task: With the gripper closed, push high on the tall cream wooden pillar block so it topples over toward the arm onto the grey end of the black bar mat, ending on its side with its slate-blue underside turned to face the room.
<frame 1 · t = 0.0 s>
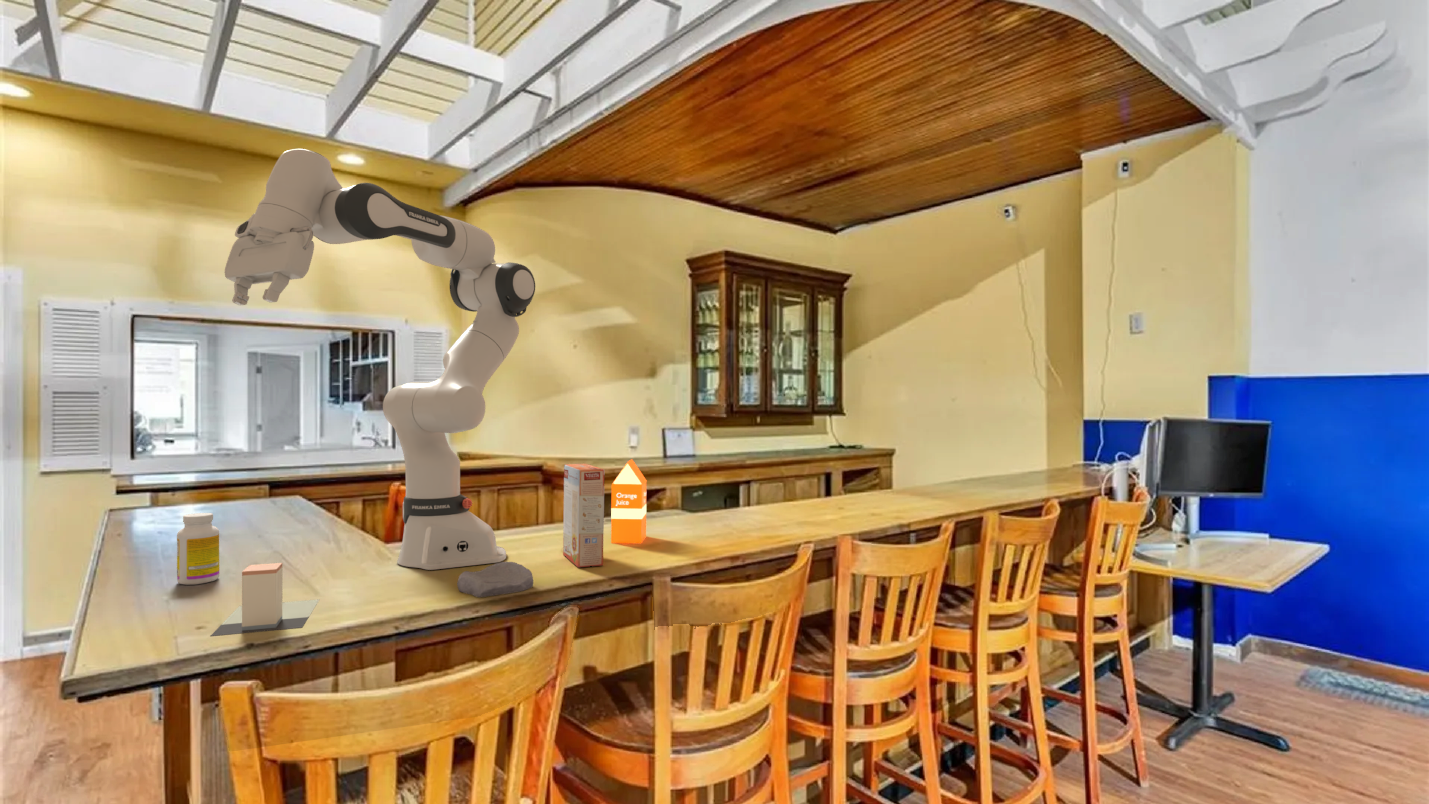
hand: (253, 302, 123), 52 cm above the bar counter, tool tilted 20°, fingers open, 8 cm apart
bar mat: (269, 618, 116), on the bar counter
supplement bottle: (198, 582, 138), on the bar counter
stone block: (498, 591, 135), on the bar counter
cracker box: (583, 561, 158), on the bar counter
pillar block: (262, 624, 112), resting on bar mat
orange juice: (629, 540, 181), on the bar counter
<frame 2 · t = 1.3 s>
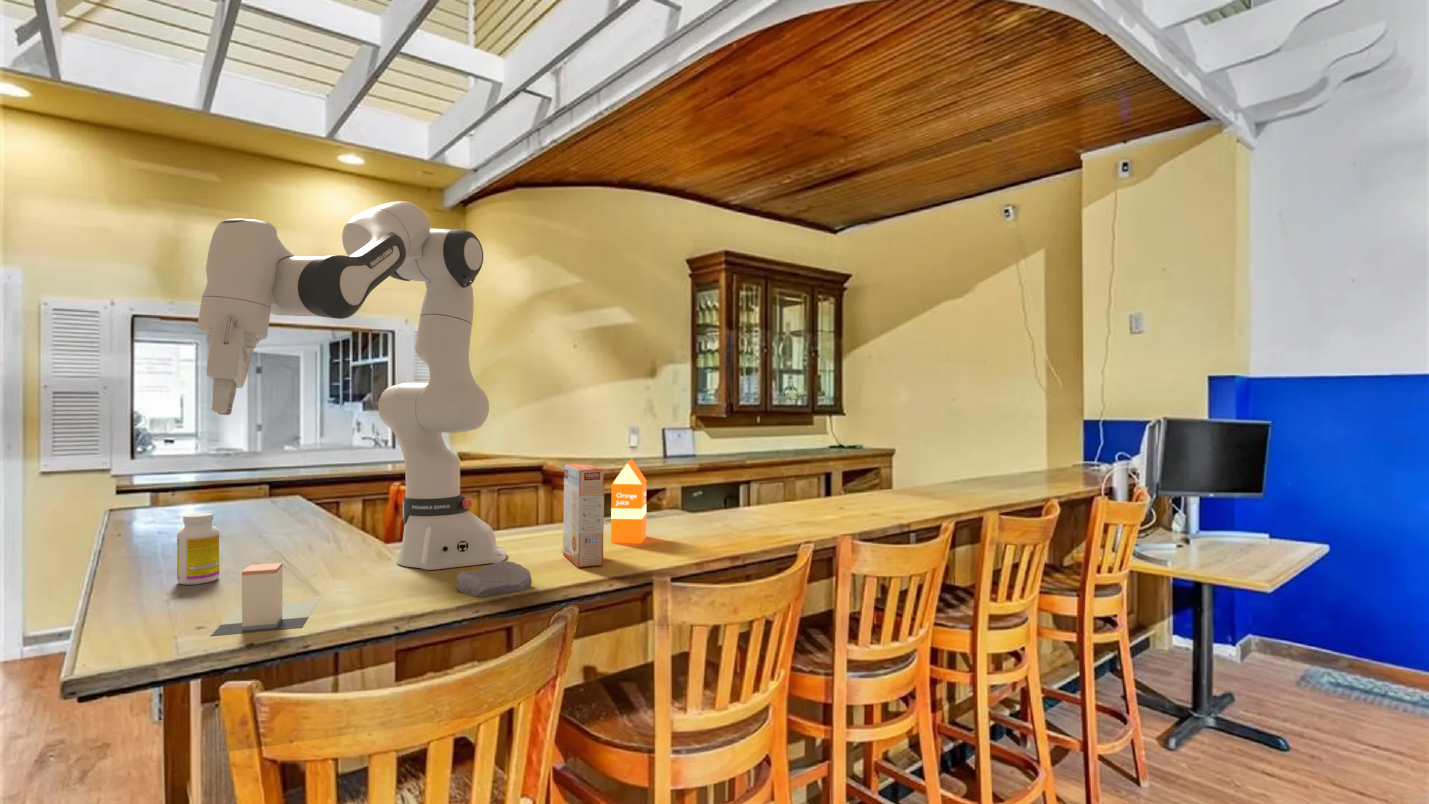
hand: (221, 413, 107), 33 cm above the bar counter, tool pointing down, fingers open, 8 cm apart
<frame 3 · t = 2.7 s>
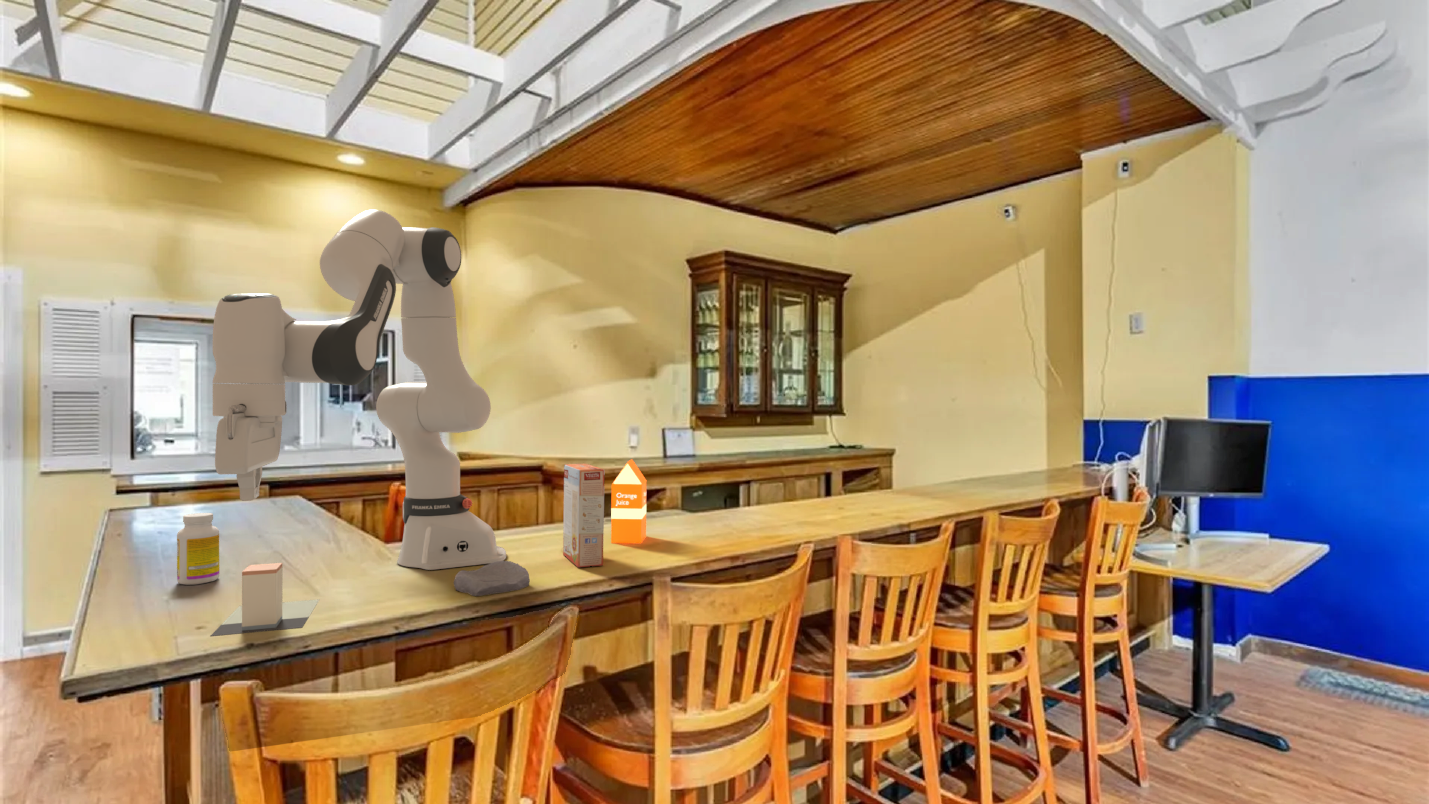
hand: (249, 499, 104), 21 cm above the bar counter, tool pointing down, fingers closed
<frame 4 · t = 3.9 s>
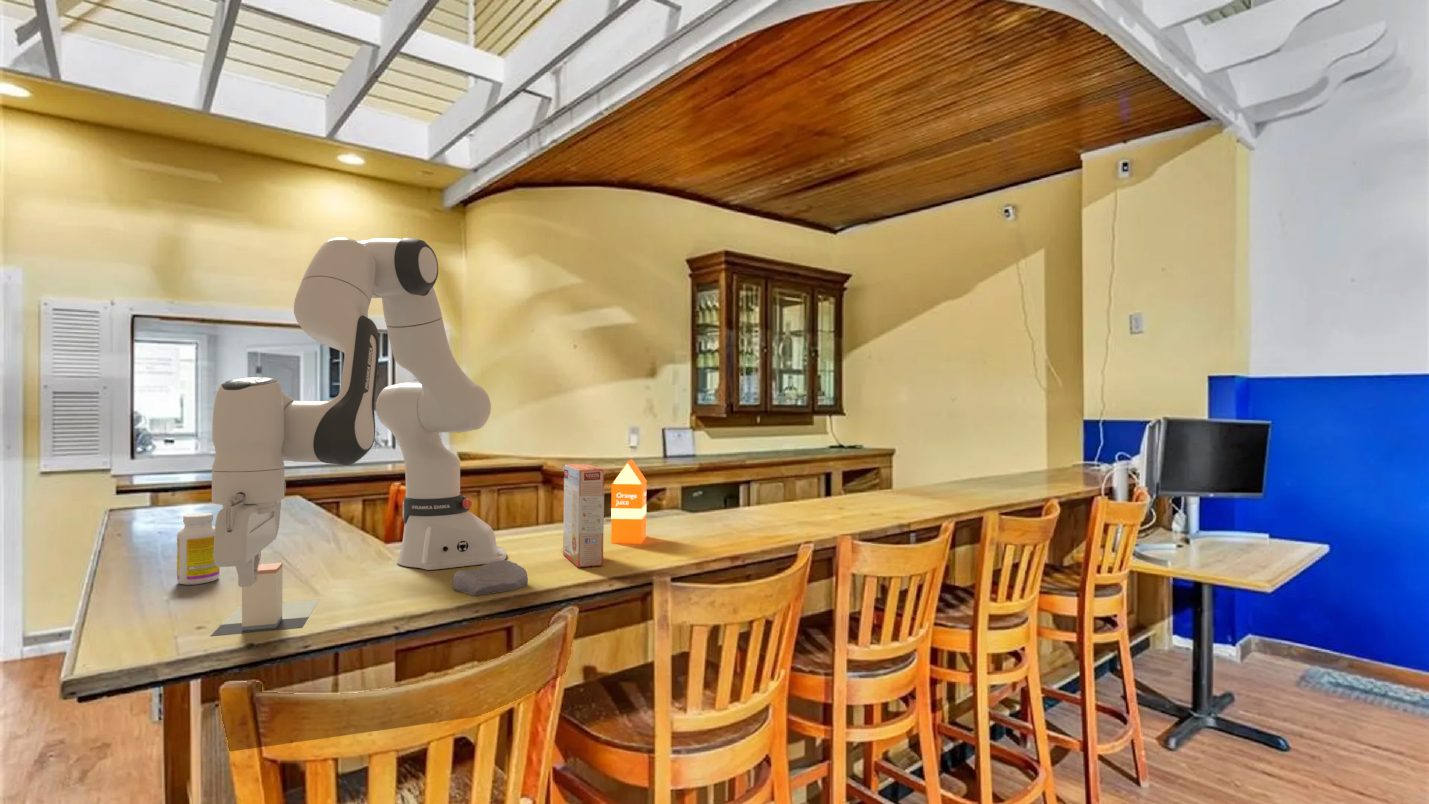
hand: (248, 584, 104), 9 cm above the bar counter, tool pointing down, fingers closed
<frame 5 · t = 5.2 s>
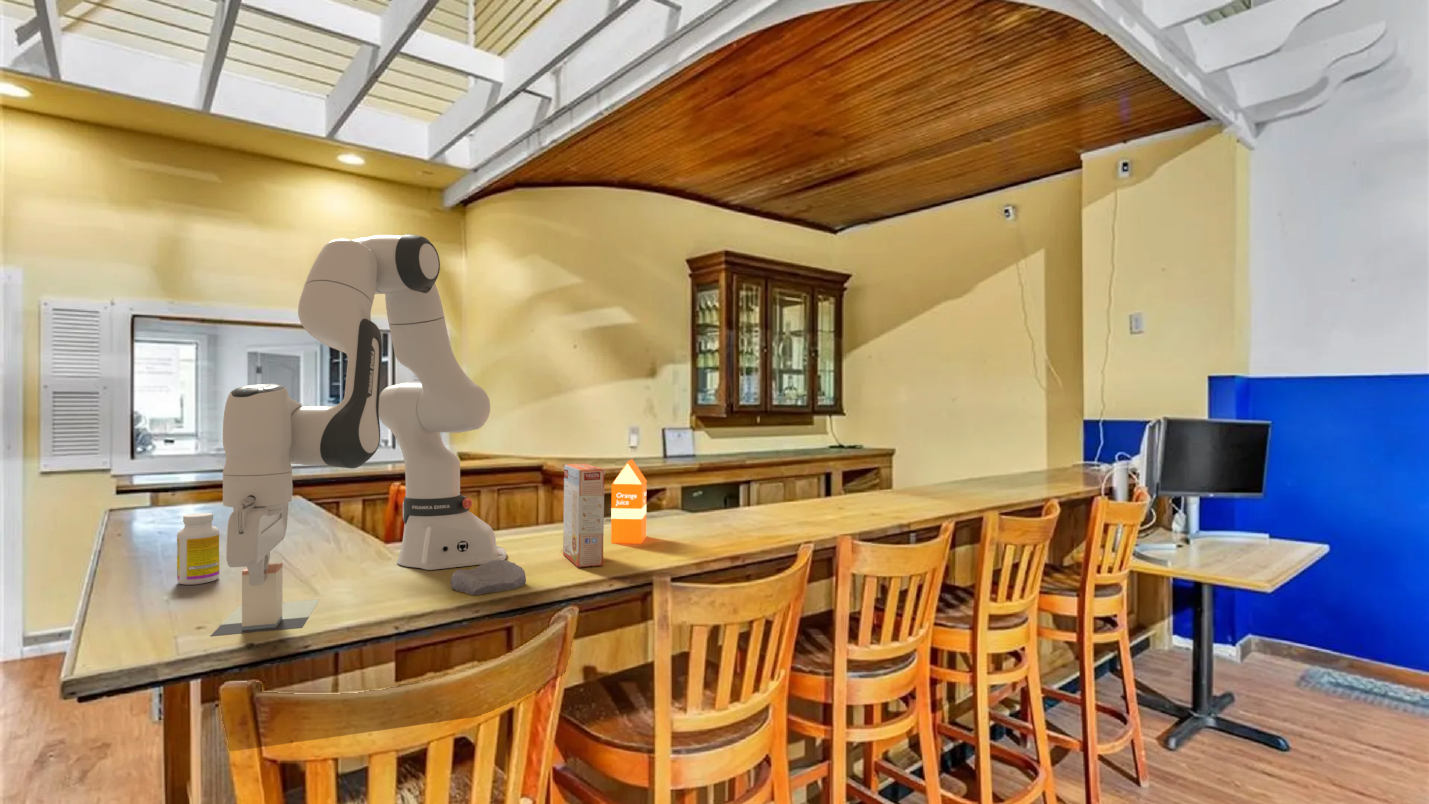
hand: (258, 583, 108), 8 cm above the bar counter, tool pointing down, fingers closed
pillar block: (262, 624, 112), resting on bar mat, touching gripper
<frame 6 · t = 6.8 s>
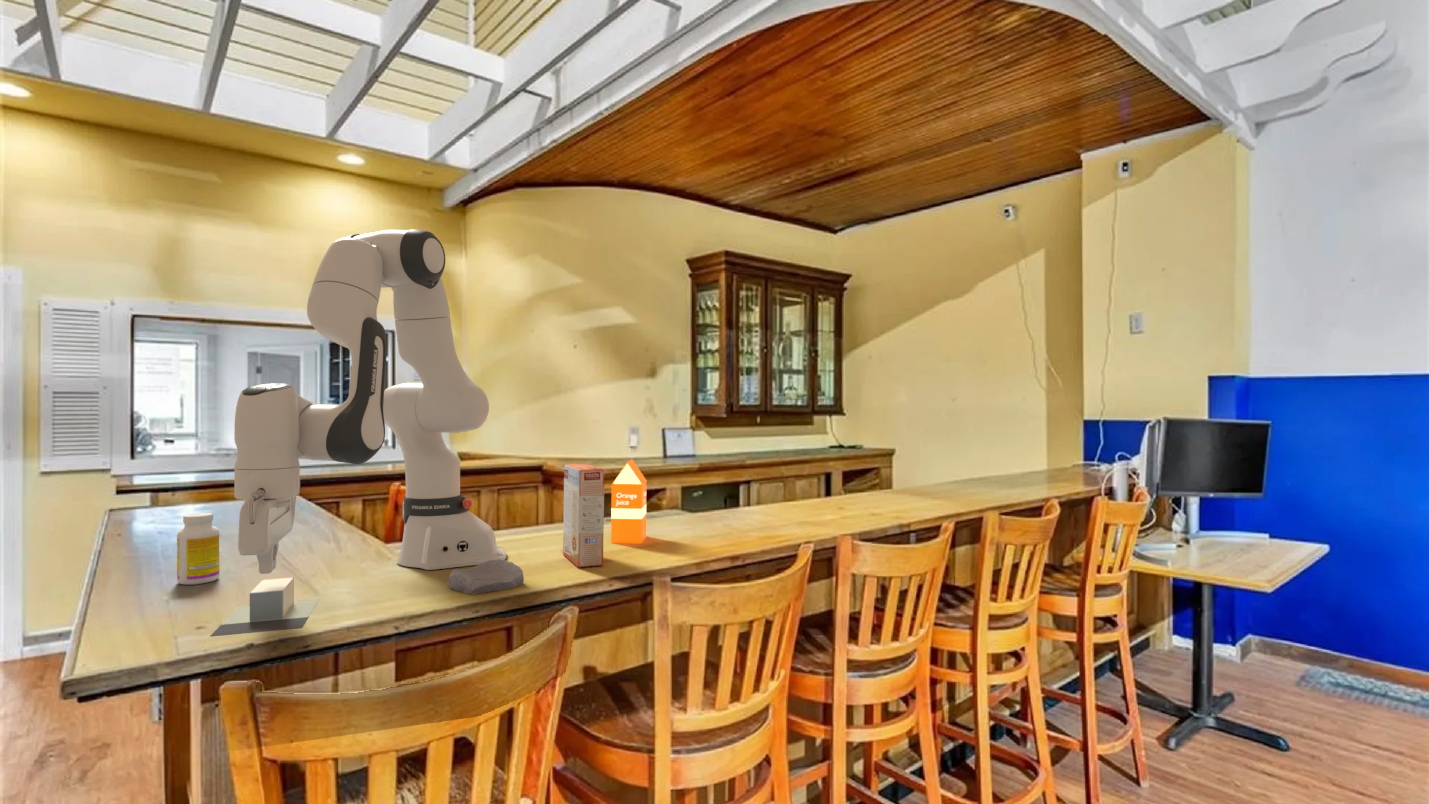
hand: (267, 571, 114), 8 cm above the bar counter, tool pointing down, fingers closed
pillar block: (266, 606, 114), point 3 cm above the bar counter, tilted 90°, touching bar mat
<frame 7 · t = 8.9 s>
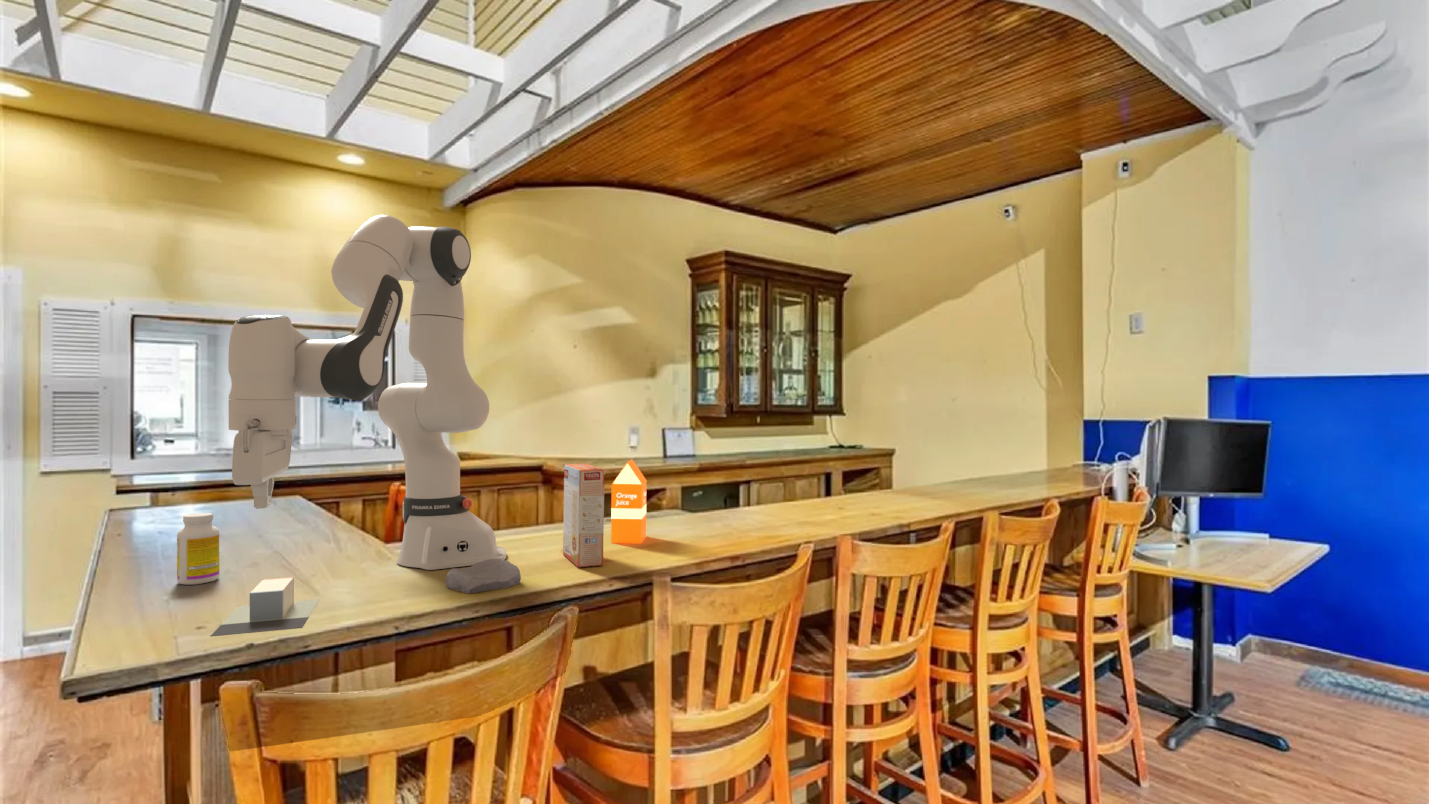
hand: (262, 507, 112), 19 cm above the bar counter, tool pointing down, fingers closed
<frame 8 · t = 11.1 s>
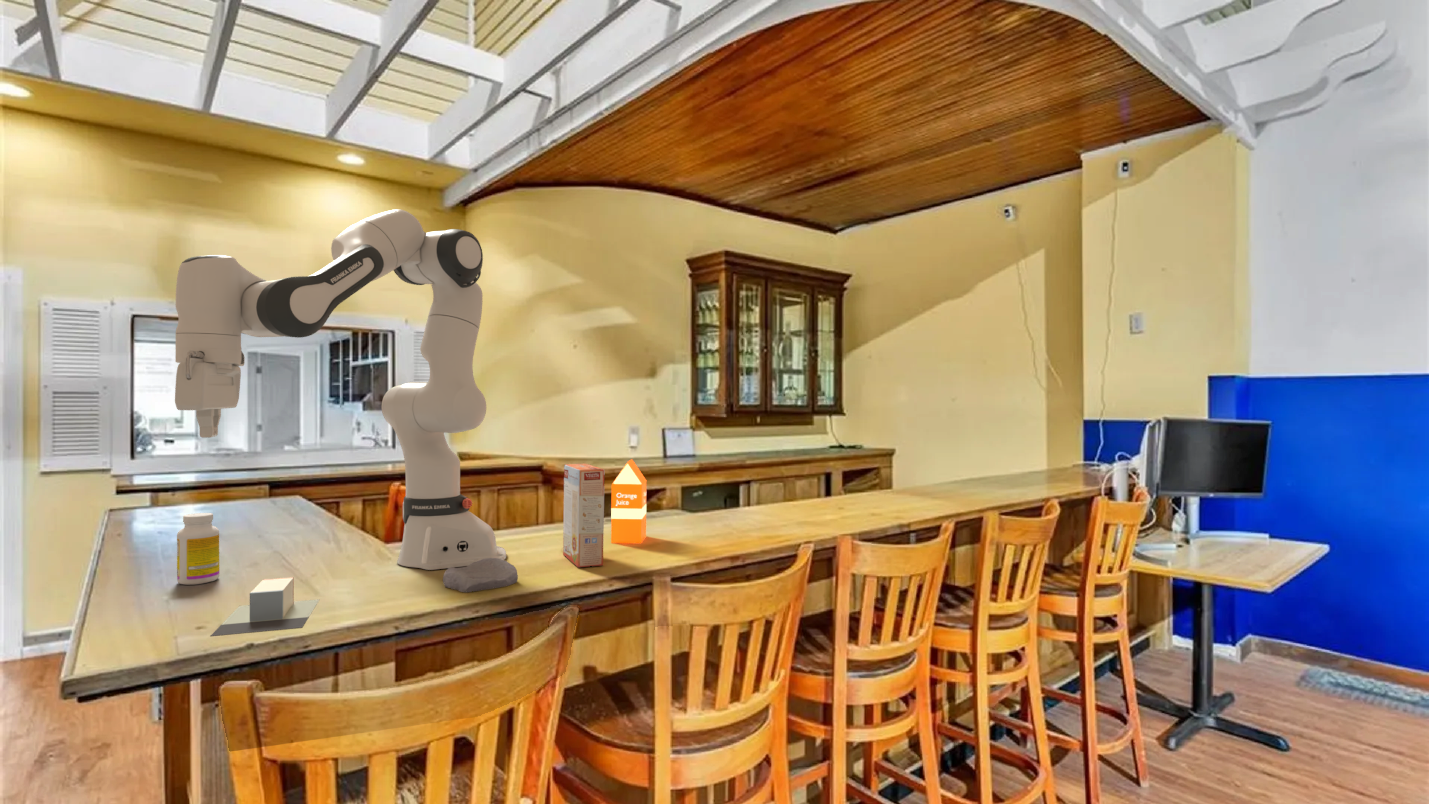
hand: (208, 437, 118), 29 cm above the bar counter, tool pointing down, fingers closed
at the end: pillar block tilted 90°; pillar block inside the target area (0.7 cm from its centre), point 2.6 cm above the bar counter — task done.
